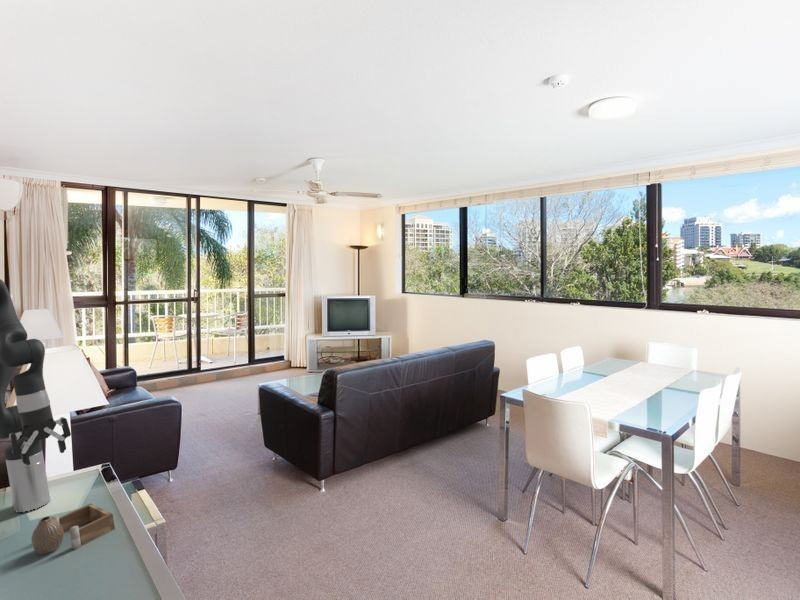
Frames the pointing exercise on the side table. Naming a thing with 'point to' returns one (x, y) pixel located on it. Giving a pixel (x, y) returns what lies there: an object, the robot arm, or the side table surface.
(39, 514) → the side table surface
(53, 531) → the vase
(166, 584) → the side table surface
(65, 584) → the side table surface
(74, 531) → the housing
